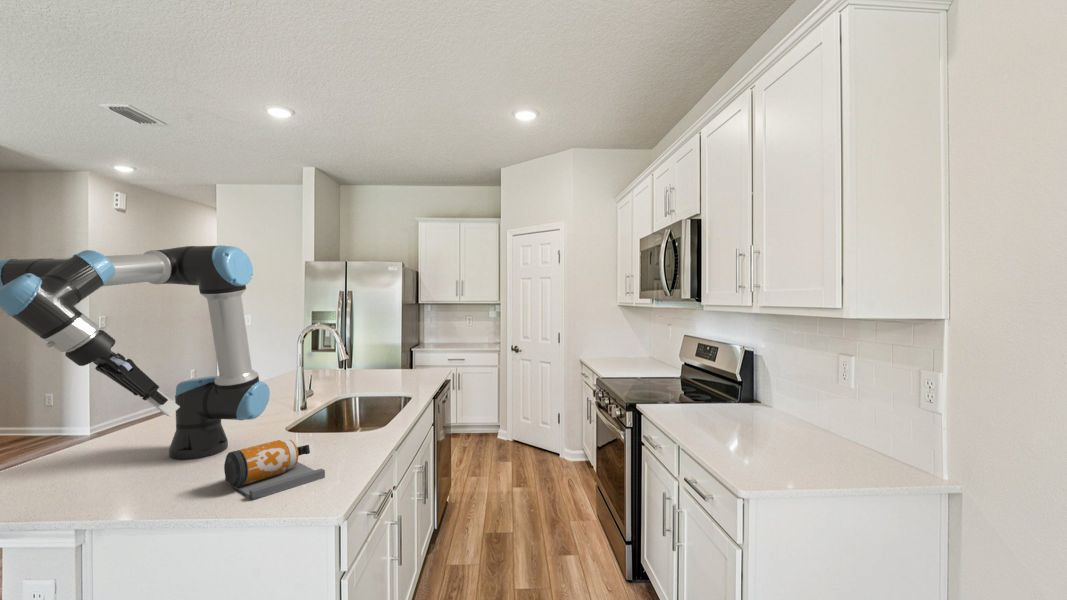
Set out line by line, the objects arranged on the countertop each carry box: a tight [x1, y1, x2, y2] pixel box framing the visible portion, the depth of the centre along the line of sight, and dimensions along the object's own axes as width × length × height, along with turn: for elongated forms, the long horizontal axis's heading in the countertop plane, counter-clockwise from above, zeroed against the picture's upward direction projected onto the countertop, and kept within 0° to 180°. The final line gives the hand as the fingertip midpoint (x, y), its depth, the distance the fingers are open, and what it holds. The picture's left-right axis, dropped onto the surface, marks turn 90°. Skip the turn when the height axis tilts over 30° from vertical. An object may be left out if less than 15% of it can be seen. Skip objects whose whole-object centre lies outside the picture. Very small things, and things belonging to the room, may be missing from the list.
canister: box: [223, 439, 311, 489], centre depth 128 cm, size 9×11×20 cm
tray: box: [224, 461, 326, 501], centre depth 126 cm, size 18×18×2 cm
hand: (173, 411), depth 109 cm, fingers closed
